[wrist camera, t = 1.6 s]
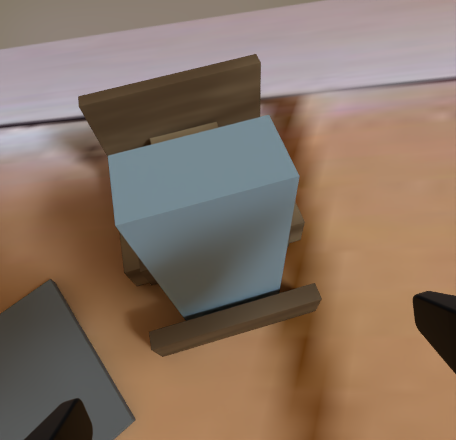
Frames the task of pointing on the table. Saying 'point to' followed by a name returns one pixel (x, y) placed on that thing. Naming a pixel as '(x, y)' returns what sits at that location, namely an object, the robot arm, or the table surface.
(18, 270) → the table surface
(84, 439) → the robot arm
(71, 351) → the mat
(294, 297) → the rack
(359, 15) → the table surface
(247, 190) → the pale blue wedge-ended prism
